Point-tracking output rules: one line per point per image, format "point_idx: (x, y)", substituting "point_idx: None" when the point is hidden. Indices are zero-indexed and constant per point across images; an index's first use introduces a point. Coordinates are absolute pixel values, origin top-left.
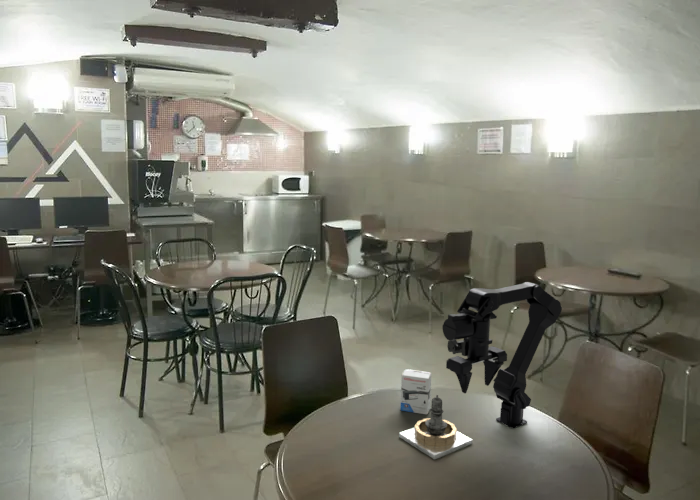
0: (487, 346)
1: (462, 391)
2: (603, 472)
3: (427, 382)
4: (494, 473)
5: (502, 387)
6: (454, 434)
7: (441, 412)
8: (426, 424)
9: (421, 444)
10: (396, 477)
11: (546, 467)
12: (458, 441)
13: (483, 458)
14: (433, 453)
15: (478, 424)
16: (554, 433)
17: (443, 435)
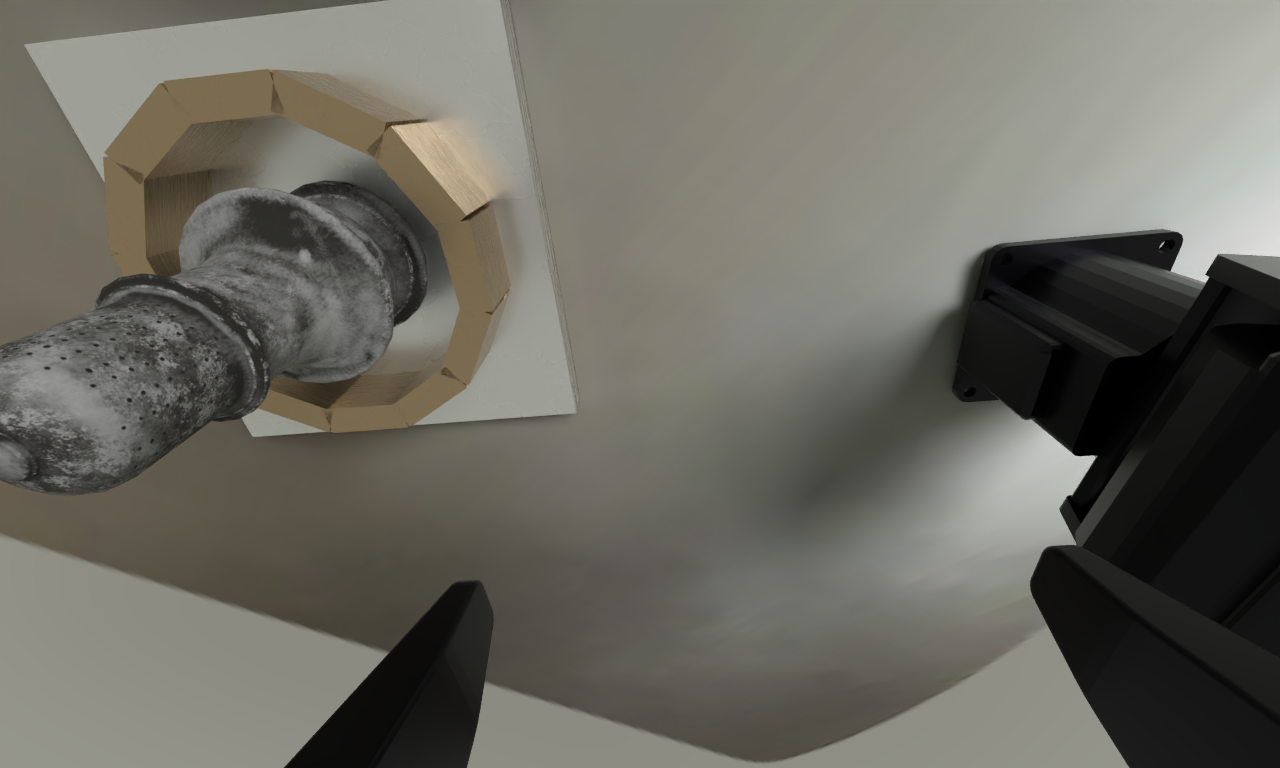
0: None
1: (448, 598)
2: (877, 723)
3: None
4: (507, 599)
5: (1237, 554)
6: (418, 420)
7: (226, 416)
8: (184, 265)
9: None
10: None
11: (735, 648)
12: (477, 390)
13: (538, 515)
14: (252, 420)
15: (822, 223)
16: None
17: (398, 306)
